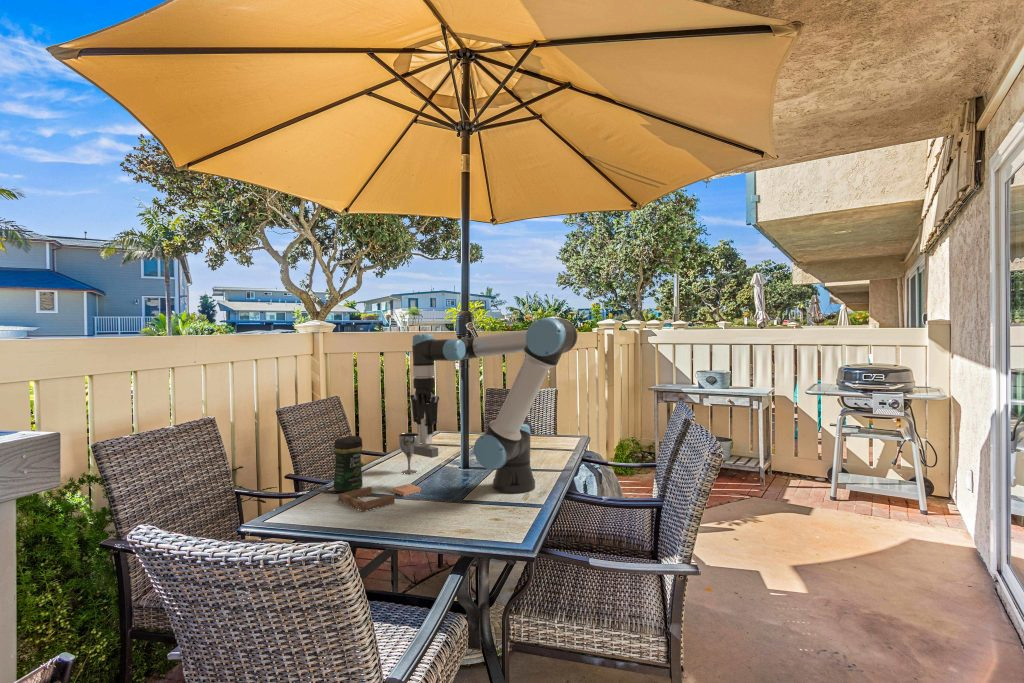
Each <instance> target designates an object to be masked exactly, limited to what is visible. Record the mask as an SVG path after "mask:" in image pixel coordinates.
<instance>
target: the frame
mask: <svg viewBox="0 0 1024 683" xmlns="http://www.w3.org/2000/svg"><path fill="white" fill-rule="evenodd" d="M370 494H373V487H371V486H367V487H361V488H359V489H356V490H353V491H348V492H342V493H341V492H339V493H338V502H339V501H341V502H343V503H345V504H344V505H346V504H347V505H346V506H348V505H349V506H348V507H350V506H352V507H351V508H353V507H354V508H353V509H355V508H356V510H357V509H359V510H358V511H360V510H361V511H360V512H362V511H365V512H367V511H366V510H368V511H371V510H370V509H372V510H374V509H373V508H376V509H378V508H377V507H380V508H382V506H383V507H386V506H385V505H387V506H390V505H389V504H391V505H394V504H395V495H393V494H391V495H386V496H383V497H378V498H375V499H371V500H370V499H369V500H366V501H363V500H361V499H360V498H358V497H361V498H363V497H362V496H365V497H367V496H366V495H369V496H371V495H370ZM341 502H340V503H341ZM343 503H342V504H343ZM393 503H394V504H393Z"/></svg>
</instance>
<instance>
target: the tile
mask: <svg viewBox="0 0 1024 683" xmlns="http://www.w3.org/2000/svg"><path fill="white" fill-rule="evenodd" d="M420 491H421V492H422V488H421V487H419V486H417V485H414V484H410V483H406V484H402V485H399V486H395V487H392V493H393V492H394V493H393V494H396V493H397V494H396V495H398V494H400V495H399V496H401V495H403V496H402V497H406V496H405V495H408V496H410V495H409V494H412V493H416V492H419V493H421V492H420ZM416 494H417V493H416ZM412 495H413V494H412Z"/></svg>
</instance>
